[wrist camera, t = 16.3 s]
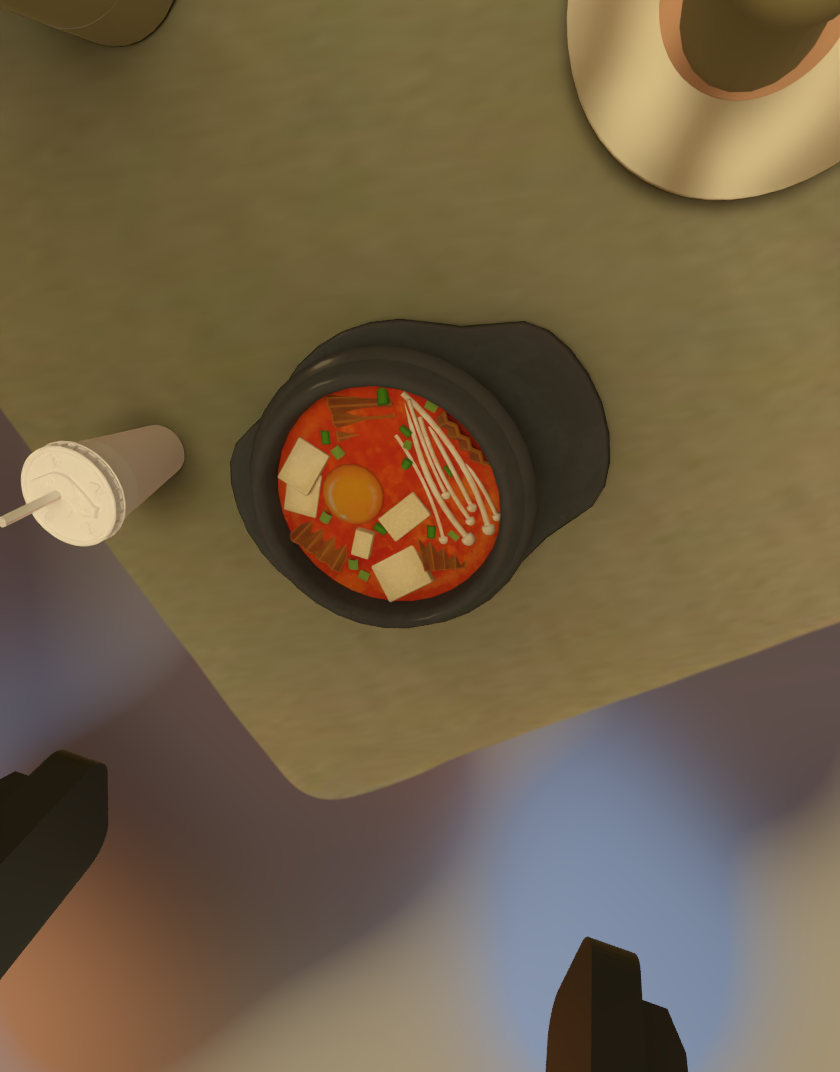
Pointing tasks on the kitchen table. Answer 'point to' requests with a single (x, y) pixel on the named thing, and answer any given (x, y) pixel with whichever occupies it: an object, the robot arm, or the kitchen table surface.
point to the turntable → (699, 106)
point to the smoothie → (95, 482)
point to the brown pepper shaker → (750, 38)
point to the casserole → (420, 465)
